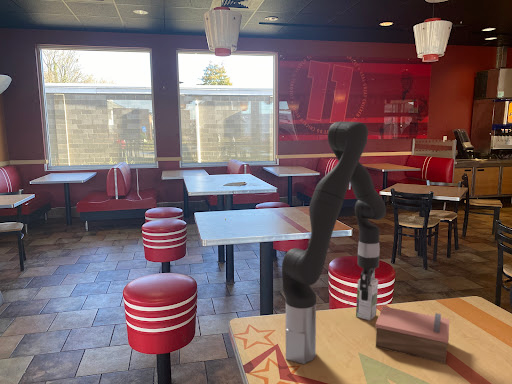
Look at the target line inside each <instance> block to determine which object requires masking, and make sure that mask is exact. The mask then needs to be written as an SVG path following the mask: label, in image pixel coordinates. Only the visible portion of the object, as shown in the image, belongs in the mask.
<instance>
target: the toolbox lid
mask: <svg viewBox="0 0 512 384" xmlns="http://www.w3.org/2000/svg"><path fill="white" fill-rule="evenodd" d="M374 327H375V328H376V329H377V328H381V329H385V330H390V331H394V332H399V333H403V334H408V335H413V336H417V337H422V338H426V339H431V340H435V341H440V342H445V343H447V344H449V338H450V336H449V334H450V319H449V318H446V317H442V314H441V313H434V315H429V314H425V313H421V312H420V313H419V312H415V311H414V312H413V311H408V310H403V309H398V308H394V307H388V306H382V308H381V311H380V313H379V314H378V317H377V320H376V322H375V326H374Z"/></svg>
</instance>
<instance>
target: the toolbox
mask: <svg viewBox="0 0 512 384" xmlns="http://www.w3.org/2000/svg"><path fill="white" fill-rule="evenodd" d="M375 331H376V332H375V333H376V334H375V348H378V349H382V350H387V351H390V352H391V351H392V352H396V353H399V354H404V355H408V356H411V357H416V358H419V359H423V360H428V361H433V362H435V363H436V362H437V363H440V364H441V363H442V364H443V365H444V364H445V365H446V363H447V362H446V361H447V350H448V348H447V347H448V343H445V342H440V341H435V340H431V339H426V338H422V337H417V336H413V335H408V334H403V333H399V332H394V331H390V330H385V329H381V328H376V330H375Z"/></svg>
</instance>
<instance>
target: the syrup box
mask: <svg viewBox="0 0 512 384" xmlns="http://www.w3.org/2000/svg"><path fill="white" fill-rule="evenodd" d="M368 282H369V281H368ZM356 286H357V287H356V306H355V307H356V309H355V311H356V312H355V317H356V318H359V319H363V320H366V321H369V322H370V321H372V320H373V319H374V318H375V317H376V315H377V306H378V291H379V289H378V288H379V279H378V278H372V279H371V285H369V290H368V300H367V301H364V300H362V299H361V293H362V290H360V278H359V279H357V285H356ZM363 287H366V285H363Z"/></svg>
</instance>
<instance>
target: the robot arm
mask: <svg viewBox="0 0 512 384" xmlns="http://www.w3.org/2000/svg"><path fill="white" fill-rule="evenodd" d="M368 138H369V129H368V126H367V125H366V124H365V123H363V122H360V121H359V122H358V121H335V122H334V123H332V124H331V125H330V126H329V128H328V131H327V141H328V144H329V147H330V149H331V150H332V152H333V154H334V156H335V157H336V159H337V161H338V162H337V163H336V165H335V166H334V167H333V168H332V169H331V170H330V171H329V172H328V173H326V174H325V175H324V176H323V177H322V178H321V180H319V182H318V183H317V184H316V187H315V188H314V191H313V194H312V196H311V199H310V201H309V208H308V212H309V214H308V215H309V221H310V229H311V230H310V233H311V234H310V239H309V243H308V244H307V245H308V246H307V249H306V250H304V249H301V248H297V247H294V248H291V249H288V251H287V252H286V253H285V254H284V256H283V259H282V263H281V279H282V292H283V294H284V297H285V360H288V361H292V362H294V363H299V364H302V365H305V364H306V363H308V362H311V361H313V360H314V359H315V358H316V353H317V352H316V351H317V350H316V348H317V347H316V342H317V339H316V336H317V333H316V331H317V294H316V292H315V291H314V289H313V288H312V287H311V286H313V285H315V284H316V283H317V282H318V280H319V279H320V277H321V275H322V273H323V270H324V267H325V262H326V258H327V255H328V250H329V247H330V241H331V239H332V235H333V232H334V229H335V225H336V223H337V220H338V217H339V214H340V212H341V210H342V207H343V204H344V201H345V197H346V194H347V190H348V188H349V185H350V186H351V190H352V191H353V195H354V197H355V198H356V202H355V203H354V204H355V205H354V214H355V217H356V221H357V225H358V233H359V234H358V244H357V245H358V246H357V266H358V267H359V268H362V271H360V272H361V273H360V275H359V277H360V278H359V279H360V290H362V293H361V299H362V300H364V301H367V300H368V290H369V285H371V279H372V278H375V274H376V272H375V271H376V269H377V268H379V266H380V251H381V250H380V227H379V226H378V225H375V224H374V223H372V222H370V220H375V221H379V220H381V219H383V218H385V216H386V213H387V206H386V204H385V203H386V202H385V201H384V200H383V198H382V197H381V195H380V194H379V193H378V191H377V190H376V188H375V185H374V182H373V179H372V176H371V174H370V173H369V171H368V170H367V169H366V167H365V166H363V164H362V163H361V162H360V160H361V157H362V155H363V152H364V150H365V148H366V145H367V143H368ZM375 279H376V278H375ZM368 281H369V282H368ZM363 285H366V287H363Z"/></svg>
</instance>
